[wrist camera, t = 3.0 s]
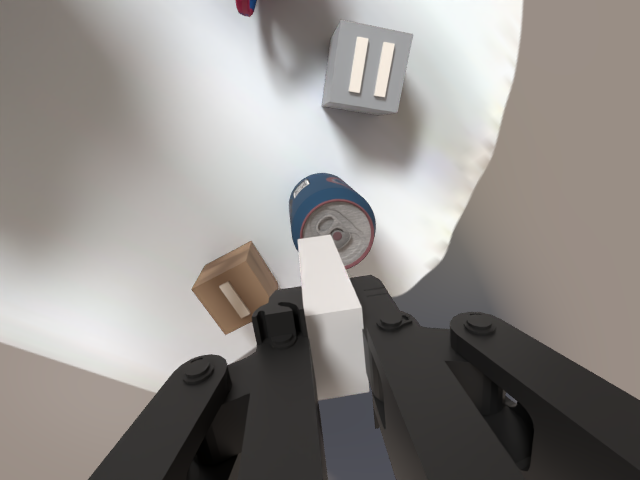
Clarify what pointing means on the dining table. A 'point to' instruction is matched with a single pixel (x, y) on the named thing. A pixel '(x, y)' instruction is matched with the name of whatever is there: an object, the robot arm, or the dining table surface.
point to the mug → (246, 7)
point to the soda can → (332, 216)
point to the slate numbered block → (366, 68)
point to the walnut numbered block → (235, 287)
